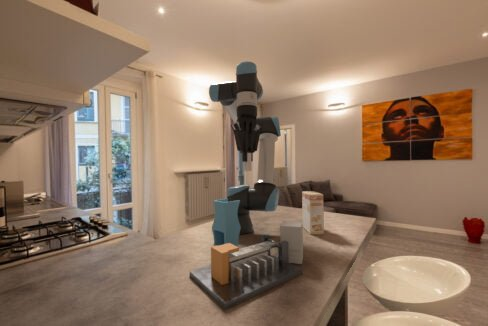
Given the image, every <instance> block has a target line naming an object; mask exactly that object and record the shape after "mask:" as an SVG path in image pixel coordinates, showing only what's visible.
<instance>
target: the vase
mask: <svg viewBox="0 0 488 326" xmlns="http://www.w3.org/2000/svg"><path fill="white" fill-rule="evenodd" d="M239 203H240V200H237V201H230V202H228V199H227V198H221V199H214V200H213V206H214V219H213V223H212V225H211V231H212V234H213V235H212V236H213V246H216V245H217V246H219V245H223V244H227V243H231V244H233V245H235V246H237V247H239V238H240V237H239V236H240V234H239V233H240V229H241V226H240V223H239V221H238V215H237V212H238V206H239Z"/></svg>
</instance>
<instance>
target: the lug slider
mask: <svg viewBox="0 0 488 326" xmlns="http://www.w3.org/2000/svg"><path fill="white" fill-rule="evenodd" d="M239 249H240V247H239V246H238V247H237V246H235V245H233V244H231V243H227V244H223V245H219V246H217V245H216V246H214V245H213V246H210V265H211V277H213V278H214V279H215V280H216V281H218V282H219V283H220V284H221V285H224V284H226V283H228V254H231V253H234V252H238V251H239Z"/></svg>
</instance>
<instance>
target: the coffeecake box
mask: <svg viewBox="0 0 488 326" xmlns="http://www.w3.org/2000/svg"><path fill="white" fill-rule="evenodd" d="M301 196H302V197H301V202H302V204H301V205H302V207H301V212H302V216H301V217H302V220H301V222H302V226H303V228H304V229H305V230H306V232H307V233H308V234H309V235H320V236H321V235H325V227H324V224H325V222H324V221H325V220H324V218H325V217H324V214H325V212H324V211H325V210H324V209H325V208H324V194H323V193H320V192H317V191H313V190H309V191H308V190H307V191H306V190H305V191H301Z"/></svg>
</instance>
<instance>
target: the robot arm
mask: <svg viewBox="0 0 488 326" xmlns="http://www.w3.org/2000/svg"><path fill="white" fill-rule="evenodd" d="M235 71H236V72H235V76H236V78H235V79H236V80H234V81H225V82H216V83H211V84H210V85H209V88H208V95H209V99H210V100H211V102H213V103H220V104H221V105H222V107H223V109H225V111H226V113H227V114H228V116H229V117H230V119H232V121H233V122H234V123H232V124H231V125H230V127H231V129H232V131H233V136H234V140H235V145H236V148H237V152H240V153H241V160H242V161H241V162H243V171H244V172H251V171H252V162H253V159H254V158H253V157H254V155H253V154H254V153H255V152H257V151H258V149H259V151H258V161H257V162H258V163H257V179H256V181H255V182H254V184H253V187H250V185H249V184H242V185H236V186H230V187H228V188H227V191H226V192H227V193H226V199H228V202H230V201H237V200H240V203H239V206H238V212H237V215H238V221H239V223H240V226H241V229H240V233H239V235H246V234H249V233H252V232H253V231H254V225H253V223H252V222H253V221H252V219H251V216H250V211H251V212H265V213H266V212H267V213H268V212H275V211H276V210H277V208H278V205H279V201H280V200H279V199H280V189H279V188H277V184H276V183H275V182H274V180H275V179H274V177H275V154H276V153H275V151H276V150H275V148H276V142H278V140H279V139H278V138H280V137H281V136H282V135H281V126H280V120H279V117H278V116H277V115H276V116H275V115H273V116H272V115H270V116H258V101H259V100H261V98H262V97H263V94H264V89H263V85H262V83H261V82H260V81H259V78H258V76H257V75H258V69H257V65H256V63H255V62H252V61H248V60H247V61H241V62H239V63H238V64H237V65H236V70H235ZM258 147H259V148H258Z"/></svg>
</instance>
